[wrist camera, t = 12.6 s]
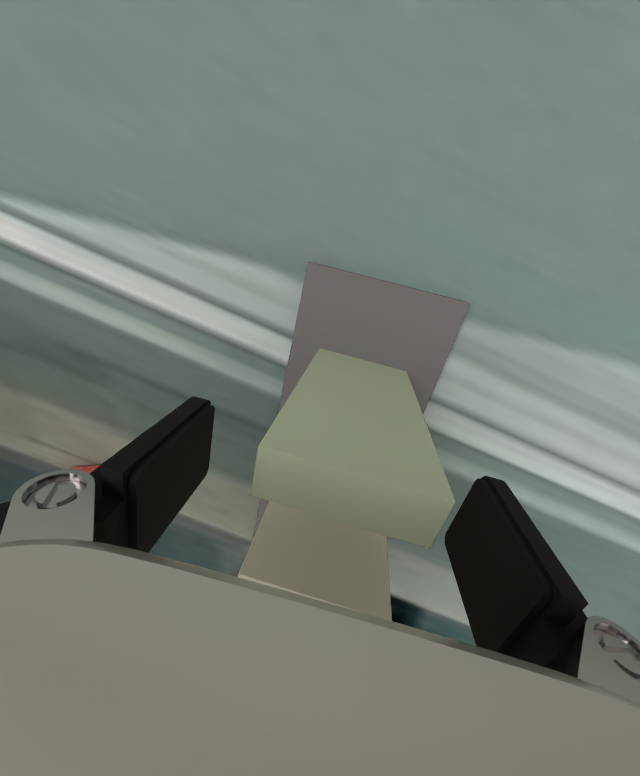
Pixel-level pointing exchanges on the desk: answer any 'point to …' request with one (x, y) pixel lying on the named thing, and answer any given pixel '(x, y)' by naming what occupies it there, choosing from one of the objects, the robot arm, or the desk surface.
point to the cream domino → (320, 560)
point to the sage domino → (355, 452)
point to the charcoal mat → (372, 329)
